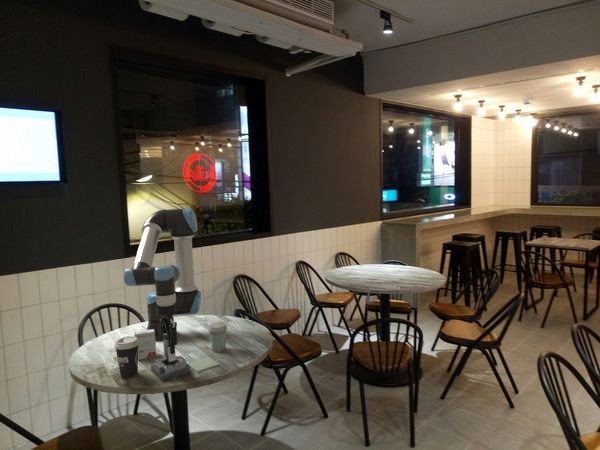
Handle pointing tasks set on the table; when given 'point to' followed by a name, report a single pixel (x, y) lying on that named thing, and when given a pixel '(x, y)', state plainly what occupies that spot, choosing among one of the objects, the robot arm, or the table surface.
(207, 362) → the mat
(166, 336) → the dark glossy cylinder
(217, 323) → the coffee cup
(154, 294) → the robot arm
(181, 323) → the table surface
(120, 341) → the coffee cup
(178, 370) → the block
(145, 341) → the ink box
